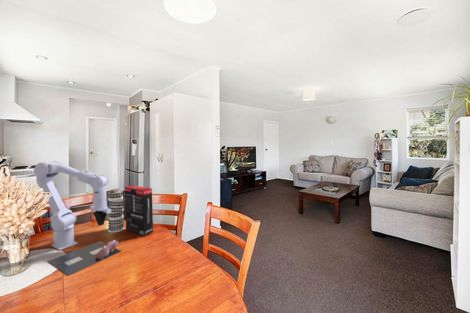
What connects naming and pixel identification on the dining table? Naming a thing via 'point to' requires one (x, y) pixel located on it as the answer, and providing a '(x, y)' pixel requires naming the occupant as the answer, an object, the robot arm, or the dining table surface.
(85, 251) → the panel
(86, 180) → the robot arm
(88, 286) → the dining table surface
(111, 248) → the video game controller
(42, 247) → the dining table surface
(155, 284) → the dining table surface
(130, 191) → the graphics card box
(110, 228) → the decorative candle
